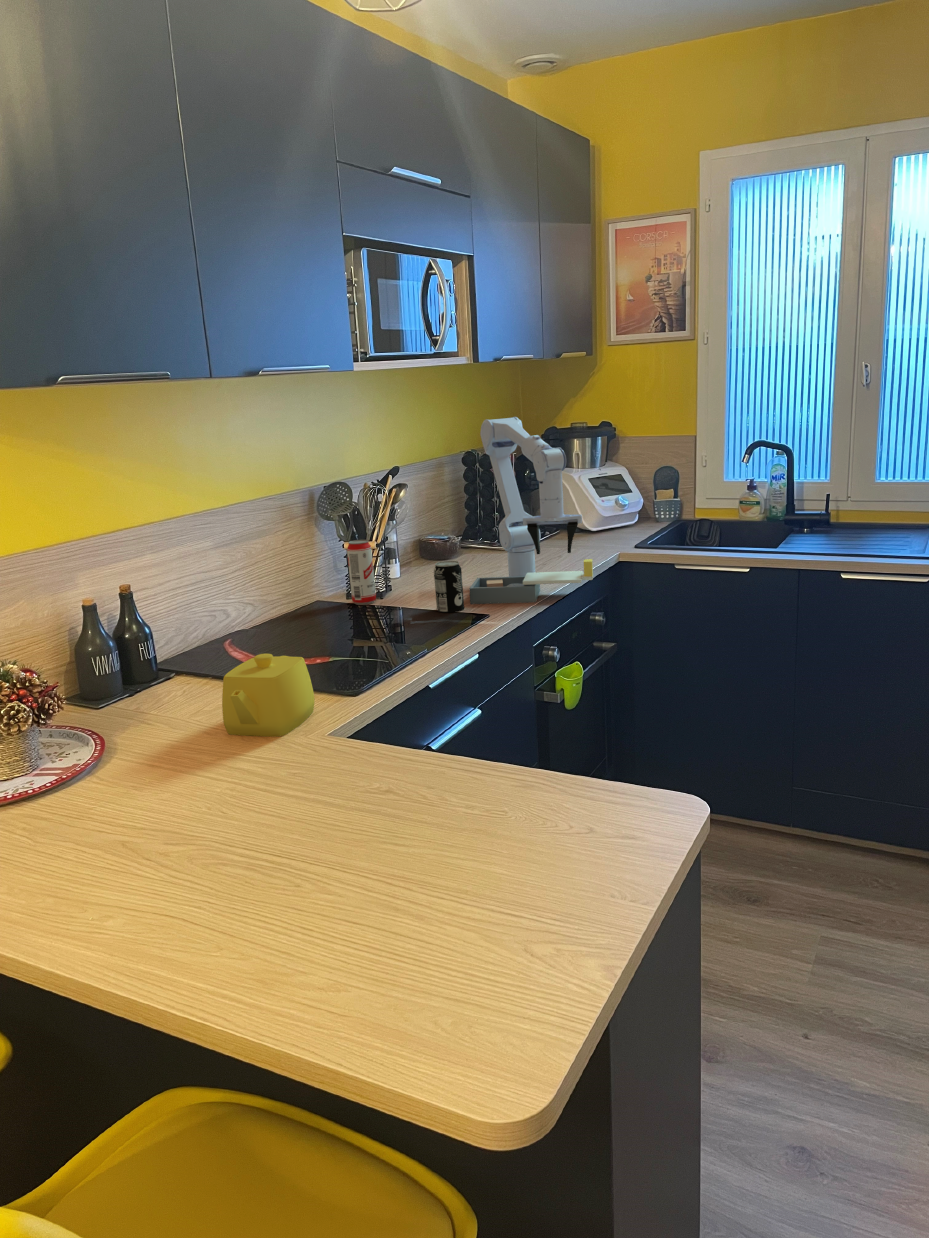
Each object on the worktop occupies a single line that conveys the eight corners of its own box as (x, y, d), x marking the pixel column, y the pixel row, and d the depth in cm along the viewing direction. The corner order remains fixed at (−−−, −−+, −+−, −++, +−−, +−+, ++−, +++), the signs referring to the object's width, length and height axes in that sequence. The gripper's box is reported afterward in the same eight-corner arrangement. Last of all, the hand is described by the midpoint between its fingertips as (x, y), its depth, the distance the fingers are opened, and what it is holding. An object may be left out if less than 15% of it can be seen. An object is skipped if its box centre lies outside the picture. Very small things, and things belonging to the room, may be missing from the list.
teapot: (275, 749, 141) (265, 677, 138) (204, 746, 144) (194, 675, 141) (327, 704, 159) (319, 640, 156) (264, 702, 163) (255, 639, 160)
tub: (478, 594, 233) (477, 577, 232) (540, 593, 230) (539, 575, 229) (470, 606, 222) (469, 588, 220) (535, 604, 219) (534, 586, 217)
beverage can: (465, 607, 220) (462, 559, 217) (463, 614, 214) (459, 565, 211) (439, 609, 221) (435, 561, 218) (435, 616, 215) (431, 566, 212)
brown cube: (512, 597, 225) (511, 583, 224) (527, 597, 224) (526, 583, 223) (506, 600, 222) (505, 587, 221) (521, 601, 220) (520, 587, 219)
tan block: (487, 594, 231) (486, 580, 230) (503, 592, 230) (502, 579, 230) (487, 597, 227) (486, 583, 226) (503, 596, 227) (502, 582, 226)
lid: (527, 575, 228) (526, 558, 227) (593, 573, 225) (592, 556, 224) (522, 584, 219) (521, 566, 218) (592, 582, 216) (591, 564, 215)
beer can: (348, 605, 232) (341, 543, 228) (359, 599, 238) (353, 539, 234) (369, 605, 230) (363, 543, 226) (380, 600, 235) (375, 539, 231)
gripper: (520, 502, 220) (523, 557, 223) (580, 499, 217) (582, 554, 221) (523, 498, 227) (526, 551, 230) (581, 495, 224) (583, 549, 227)
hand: (553, 552), depth 226 cm, fingers open, 7 cm apart
